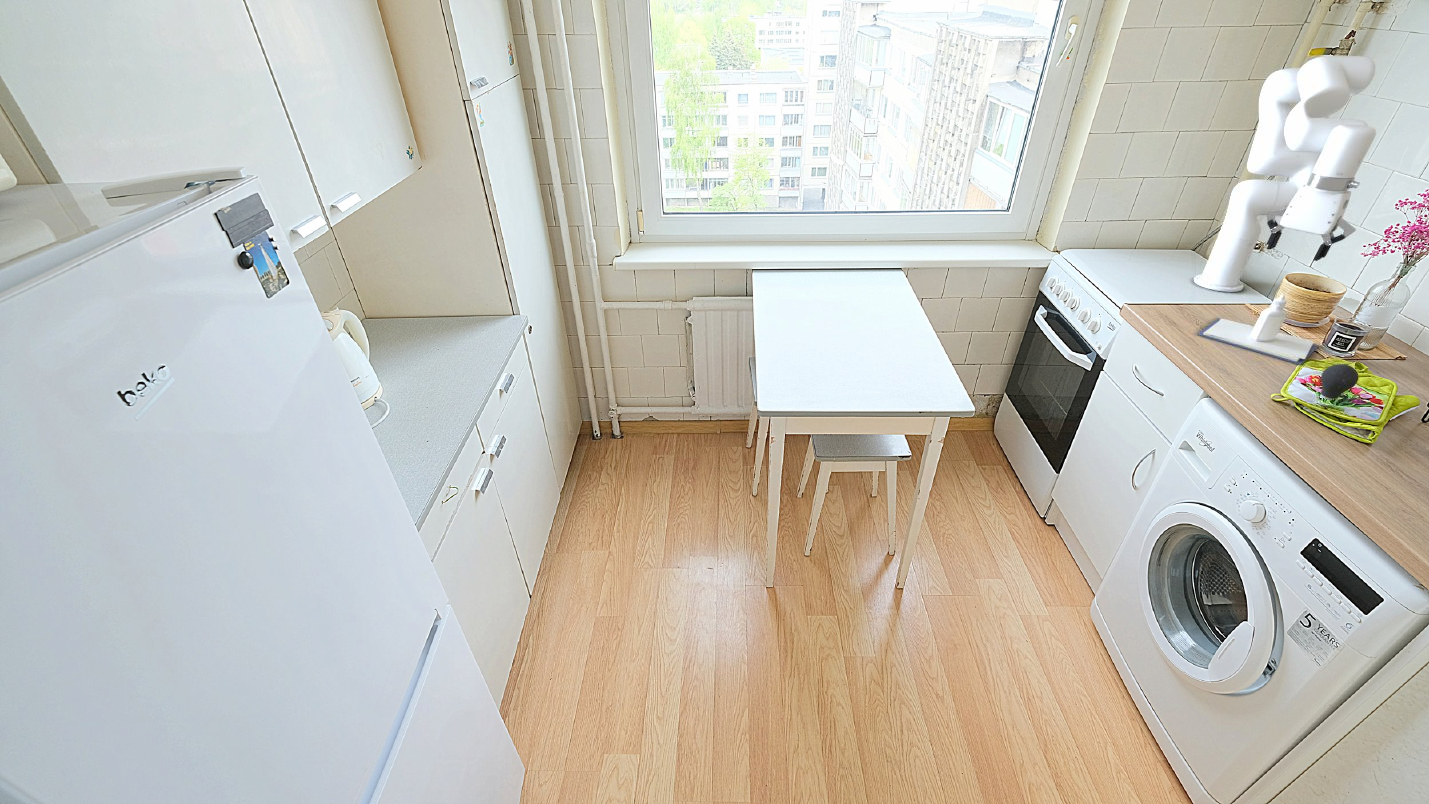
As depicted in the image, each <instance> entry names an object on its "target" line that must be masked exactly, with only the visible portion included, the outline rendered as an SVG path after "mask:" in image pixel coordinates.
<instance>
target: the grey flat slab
mask: <svg viewBox="0 0 1429 804" xmlns="http://www.w3.org/2000/svg"><path fill="white" fill-rule="evenodd" d="M1254 327H1255V325H1250V324H1246V323H1242V322H1238V321H1234V320H1229V319H1226V318H1217V319H1216V320H1214V321H1213V322H1211V323H1210V324H1209V325H1208V326H1206V327H1205V328H1204V329H1202V330H1201V331H1200V332H1198V333H1196V334H1197V336H1200V337H1203V338H1207V339H1210V340H1213V341H1217V342H1219V343H1224V344H1226V345H1231V346H1234V347H1237V348H1240V349H1244V350H1247V351H1250V352H1254V353H1258V354H1261V355H1264V356H1267V357H1270V358H1271V357H1272V358H1275V359H1279V360H1282V361H1285V362H1288V363H1292V364H1295V365H1297V366H1298V365H1299V366H1301V365H1302V364H1304V362H1305V361H1306V360H1307V359H1308V358H1309V357H1310V356H1311V355H1312V354H1313V353H1314V352H1315V351H1316V350H1317V348H1318V347H1319V344H1315V343H1314V342H1315V341H1314V340H1311V339H1307V338H1304V337H1300V336H1294V335H1291V334H1286V333H1283V332H1280V331H1279V332H1278V334H1277V336H1276V338H1275V339H1274V340H1272V341H1268V342H1261V341H1255V340H1253V339H1252V338H1250V335H1251V333H1252V331H1253V329H1254ZM1301 363H1302V364H1301Z"/></svg>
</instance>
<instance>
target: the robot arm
mask: <svg viewBox="0 0 1429 804" xmlns="http://www.w3.org/2000/svg"><path fill="white" fill-rule="evenodd" d="M1375 74H1376V63H1375V61H1374V60H1373V59H1372V58H1370V57H1369V56H1365V55H1323V56H1317V57H1314V58H1313V59H1310V60H1308V61H1307V62H1305V64H1303V65H1302V66H1301V67H1287V68H1282V69H1279V70H1276V71H1273V72H1272V73H1270V74H1269V76H1268V77H1267V78H1266V79H1265V81H1264V83H1263V85H1262V87H1261V91H1260V94H1259V99H1258V126H1257V129H1256V132H1255V135H1254V138H1253V142H1252V145H1251V149H1250V152H1249V155H1248V160H1247V164H1246V167H1247V171H1248V172H1249V173H1251V174H1254V175H1259V176H1260V175H1261V176H1275V177H1288V180H1275V179H1259V178H1258V179H1256V178H1255V179H1247V180H1243V181H1240V182H1239V183H1237V184H1236V185H1235V186H1234V188H1233V189H1232V191H1231V194H1230V197H1229V201H1228V202H1229V204H1228V207H1227V209H1226V210H1227V211H1226V214H1225V217H1224V220H1223V223H1222V225H1221V228H1220V229H1219V230H1220V231H1219V232H1218V235H1217V238H1216V240H1215V242H1214V245H1213V247H1212V250H1211V252H1210V254H1209V257H1208V260H1207V262H1206V263H1205V264H1206V265H1205V267H1204V269H1203V272H1202V274H1198V275H1195V276H1194V278H1193V282H1194V283H1195V284H1196V285H1198V286H1200V287H1202V288H1205V289H1207V290H1212V291H1216V292H1217V291H1218V292H1224V293H1236V292H1241V291H1242V290H1243V289H1244V287H1245V286H1244V284H1243V282H1241V281H1240V280H1241V279H1242V276H1243V273H1244V272H1245V269H1246V267H1247V266H1248V262H1249V260H1250V258H1251V256H1252V253H1253V251H1254V249H1255V248H1256V244H1257V243H1258V240H1259V238H1260V235H1261V233H1262V227H1261V224H1260V222H1259V220H1258V218H1257V217H1258V216H1266V221H1267V222H1266V224H1267V226H1268V228H1269V231H1270V236H1269V237H1268V240H1267V242H1266V245H1267V247H1266V250H1268V251H1269V250H1270V251H1271V250H1273V249H1274V248H1276V247H1277V244H1278V242H1279V241H1280V239H1281V237H1282V235H1283V233H1282V230H1284V229H1289V230H1293V231H1297V232H1302V233H1307V234H1312V235H1317V236H1321V238H1322V240H1323V243H1322V244H1320V245H1319V247H1318V249H1317V251H1316V253H1315V255H1314V257H1313V258H1312V261H1315V262H1318V261H1319V260H1321V259H1322V258H1323V259H1324V258H1325V257H1327V255H1328V253H1329V251H1330V249H1331V248H1332V245H1334V244H1336V243H1339V242H1341V241H1343V240H1345V239H1346V238H1348V237H1349V236H1351V235H1352V234H1354V233H1355V232H1356V231H1357V229H1356V228H1355V227H1354V226H1353V225H1352V224H1351V223H1349V222H1348V221H1347V220H1345V219H1344V215H1345V214H1346V210H1347V208H1348V205H1349V202H1350V198H1351V195H1352V191H1350V189H1358V187H1359V186H1360V184H1361V183H1360V182H1359V181H1356V180H1355V178H1356V175H1357V172H1358V171H1359V169H1360V167H1361V165H1362V163H1363V161H1364V159H1365V157H1366V155H1367V153H1368V151H1369V149H1370V148H1371V146H1372V144H1373V142H1374V140H1375V138H1376V136H1377V131H1376V129H1375V128H1374V127H1373V126H1369V124H1368V123H1367V122H1366V121H1365V120H1362V119H1354V118H1353V119H1352V118H1337V117H1333V118H1332V117H1329V116H1331V115H1334V114H1335V113H1337V112H1339V111H1340V110H1342V109H1343V108H1344V107H1345V106H1346V105H1347V104H1348V103H1349V101H1350V99H1351V98H1352V97H1354V96H1357V95H1358V94H1360V93H1362V92H1363V91H1365V90H1366V89H1367V88H1368V87H1369V85H1370V84H1371V83H1372V81H1373V80H1374V77H1375ZM1291 104H1296V105H1295V106H1294V107H1292V106H1291ZM1276 217H1281V219H1280V222H1279V224H1278V222H1277V220H1276ZM1338 228H1340V229H1342V230H1343V232H1341V233H1340V234H1339V235H1336V236H1335V234H1334V232H1335V231H1337V229H1338Z"/></svg>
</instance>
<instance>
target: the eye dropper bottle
mask: <svg viewBox="0 0 1429 804" xmlns="http://www.w3.org/2000/svg"><path fill="white" fill-rule="evenodd" d="M1285 297H1286V295H1285V294H1281V295H1280V296H1279V297H1278V298H1275V299H1273V302H1272V303H1271V306H1270V307H1268V308H1265V309H1263V311H1261V313H1260V315H1259V317H1258V319H1257V321H1256V323H1255V324H1254V329H1253V331H1252V333H1251V335H1250V338H1252V339H1253V340H1255V341H1261V342H1268V341H1272V340H1274V339H1275V338H1276V336H1277V334H1278V332H1279V333H1280V330H1281V328H1282V326H1283V324H1284V322H1285V320H1286V318H1287V315H1288V312H1287V310H1285V306H1286V305H1287V300H1286V299H1285Z"/></svg>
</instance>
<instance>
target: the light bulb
mask: <svg viewBox="0 0 1429 804" xmlns="http://www.w3.org/2000/svg"><path fill="white" fill-rule="evenodd" d="M1358 381H1359V373H1358V371H1357V369H1356V368H1355V367H1353V366H1351V365H1349V364H1345V363H1337V364H1333V365H1330V366H1328V367H1326V368H1325V369H1324V370H1323V372H1322V373H1321V376H1320V382H1321V391H1320V395H1319V397H1320V398H1324V399H1327V400H1332V399H1333V400H1334V399H1335V400H1336V399H1338V398H1339V397H1340V396H1341V395H1342V394H1344V393H1345V392H1347V391H1349V390H1351V389H1352V388H1354V387H1355V386H1356V384H1357V383H1358ZM1316 402H1317V403H1318V405H1319V406H1320V407H1322V408H1326V407H1331V406H1332V405H1325V404H1322V403H1320V402H1319V401H1318V400H1317V401H1316Z"/></svg>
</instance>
